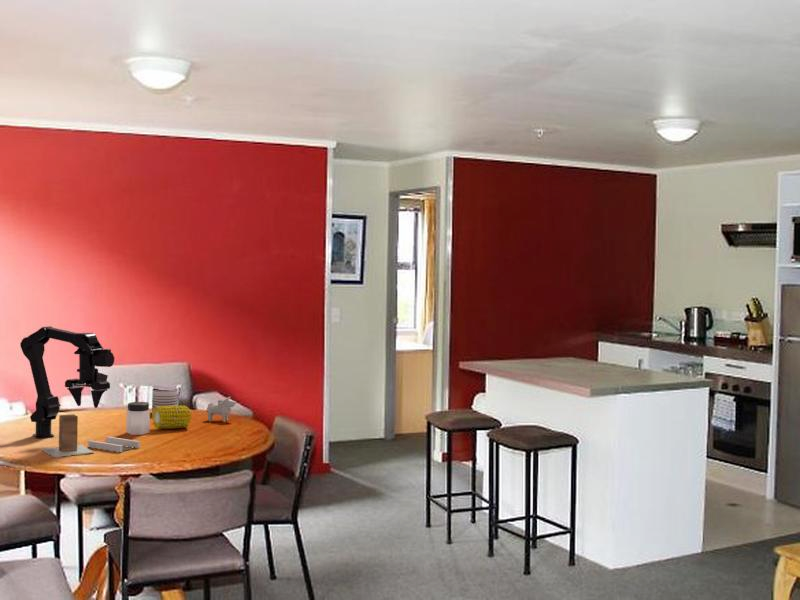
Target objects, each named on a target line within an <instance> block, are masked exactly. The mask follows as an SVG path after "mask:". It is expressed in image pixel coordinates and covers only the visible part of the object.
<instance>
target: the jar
mask: <svg viewBox="0 0 800 600" xmlns="http://www.w3.org/2000/svg"><path fill="white" fill-rule="evenodd" d="M149 403H150V402H147V401H133V402H128V403H127V409H126V433H127V434H128V435H131V436H132V435H133V436H135V435H136V436H137V435H139V436H140V435H147V434H149V433H150V424H151V423H150V419H151V418H150V417H151V413H150V412H151V410H150V409H149V408H150V404H149Z"/></svg>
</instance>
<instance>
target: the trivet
mask: <svg viewBox="0 0 800 600" xmlns="http://www.w3.org/2000/svg"><path fill="white" fill-rule="evenodd" d="M43 450H44V451H45V453H46V452H47V453H48V454H47V453H46V454H47V455H49V454H50V455H51V456H50V455H49V456H50V457H51V458H53V457H56V458H63V457H62V456H66V457H72V456H71V455H75V456H81V455H82V454H85V455H90V454H89V453H94V454H95V452H94V451H93V450H91V448H88V447H86V446H84V445H83V444H77V451H71V452H62V451H60V450H59V446H57V447H46V448H42V451H43ZM44 451H43V452H44ZM82 456H83V455H82Z"/></svg>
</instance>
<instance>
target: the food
mask: <svg viewBox="0 0 800 600" xmlns="http://www.w3.org/2000/svg"><path fill="white" fill-rule="evenodd" d="M151 413H152V414H151V415H152V416H151V417H152V424H153V427H154V428H156V429H159V430H160V429H164V430H166V429H185V428H189V425H190V424H191V420H192V416H191V415H192V413H191V409H190V408H189V407H188V406H187V405H178V406H177V405H175V406H173V405H172V406H156V407H155V408H154V409H153V411H152V410H151Z"/></svg>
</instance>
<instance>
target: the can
mask: <svg viewBox="0 0 800 600" xmlns="http://www.w3.org/2000/svg"><path fill="white" fill-rule="evenodd" d="M151 391H152V394H151V395H152V398H151V399H152V400H151V402H152V403H151V412H152V411H153V409H154V408H155V407H156V406H172V405H173V406H175V405H177V406H179V405H178V403H179V402H178V401H179V400H178V399H179V398H178V396H179V389H178V387H174V386H171V385H153V386H152V390H151Z"/></svg>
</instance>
